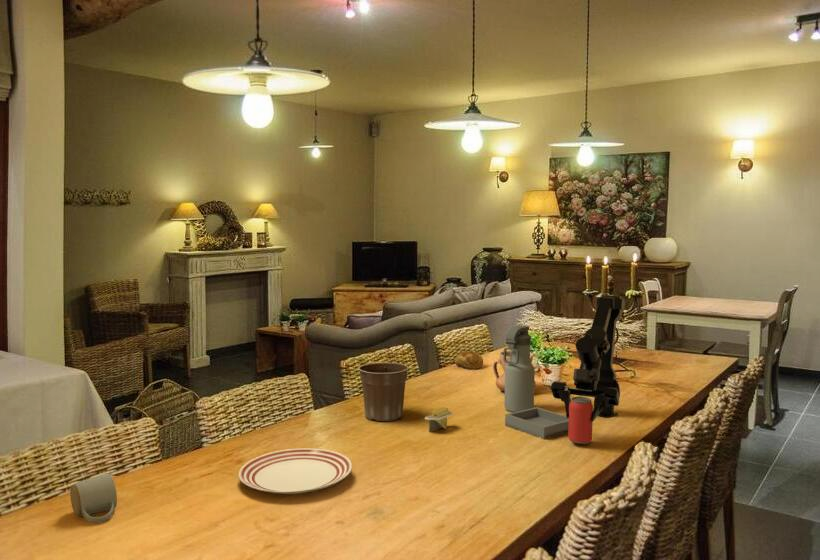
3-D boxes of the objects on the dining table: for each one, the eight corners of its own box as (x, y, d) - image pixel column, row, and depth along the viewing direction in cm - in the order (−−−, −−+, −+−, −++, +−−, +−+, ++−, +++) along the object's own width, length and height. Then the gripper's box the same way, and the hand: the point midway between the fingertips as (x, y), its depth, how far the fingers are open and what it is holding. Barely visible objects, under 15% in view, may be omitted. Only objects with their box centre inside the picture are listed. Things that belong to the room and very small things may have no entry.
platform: (472, 427, 211) (473, 407, 211) (437, 442, 197) (437, 420, 197) (441, 420, 219) (441, 400, 218) (405, 434, 205) (405, 412, 204)
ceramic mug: (69, 511, 150) (67, 477, 149) (108, 501, 155) (107, 468, 154) (82, 529, 142) (80, 493, 141) (123, 518, 147) (122, 483, 146)
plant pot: (351, 412, 226) (351, 364, 224) (397, 407, 232) (397, 360, 231) (368, 426, 211) (368, 374, 209) (416, 420, 217) (416, 370, 216)
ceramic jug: (545, 391, 254) (546, 353, 252) (526, 399, 242) (526, 359, 241) (503, 383, 265) (504, 347, 264) (483, 391, 254) (483, 353, 252)
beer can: (592, 445, 191) (593, 403, 190) (568, 443, 193) (569, 401, 191) (591, 437, 198) (592, 396, 197) (567, 436, 199) (568, 395, 198)
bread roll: (450, 366, 295) (450, 348, 294) (465, 363, 302) (465, 345, 301) (472, 371, 286) (472, 352, 285) (487, 368, 292) (488, 349, 291)
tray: (536, 417, 221) (536, 407, 220) (575, 430, 208) (576, 419, 207) (505, 425, 212) (505, 414, 212) (543, 439, 199) (544, 427, 199)
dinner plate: (301, 513, 150) (301, 498, 150) (214, 486, 165) (214, 473, 164) (374, 473, 173) (374, 460, 173) (291, 453, 188) (291, 441, 187)
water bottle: (520, 415, 223) (521, 330, 220) (497, 409, 230) (498, 326, 227) (539, 409, 229) (541, 327, 227) (517, 403, 237) (518, 323, 234)
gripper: (552, 354, 200) (541, 400, 192) (618, 360, 192) (610, 409, 184) (559, 374, 208) (548, 420, 200) (622, 381, 200) (614, 429, 191)
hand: (579, 419), depth 193 cm, fingers closed on beer can, 7 cm apart
